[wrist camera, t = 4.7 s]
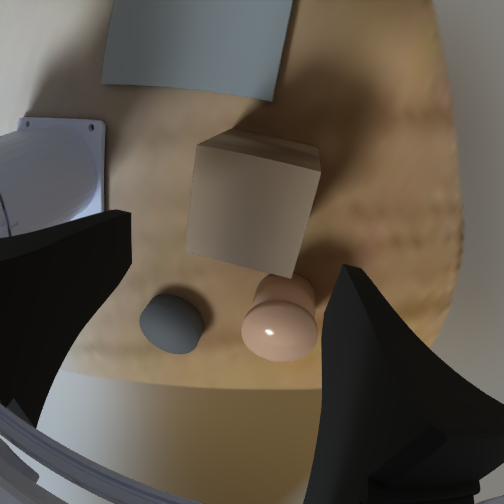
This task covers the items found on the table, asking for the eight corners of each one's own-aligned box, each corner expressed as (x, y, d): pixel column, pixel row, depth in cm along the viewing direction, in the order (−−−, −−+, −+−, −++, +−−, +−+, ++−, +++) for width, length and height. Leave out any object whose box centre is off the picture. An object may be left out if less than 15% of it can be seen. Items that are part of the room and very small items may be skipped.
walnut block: (219, 206, 20) (185, 251, 15) (232, 128, 17) (196, 144, 12) (298, 225, 19) (291, 278, 14) (318, 147, 17) (321, 172, 12)
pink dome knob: (247, 313, 23) (236, 351, 20) (259, 262, 21) (248, 297, 18) (307, 328, 23) (304, 368, 20) (326, 278, 21) (327, 317, 17)
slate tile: (105, 83, 17) (100, 84, 16) (136, -59, 11) (131, -62, 11) (272, 101, 16) (271, 101, 16) (306, -61, 11) (306, -65, 10)
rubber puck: (149, 329, 27) (141, 343, 25) (148, 285, 24) (138, 298, 23) (202, 346, 26) (196, 361, 25) (207, 302, 24) (200, 317, 22)
